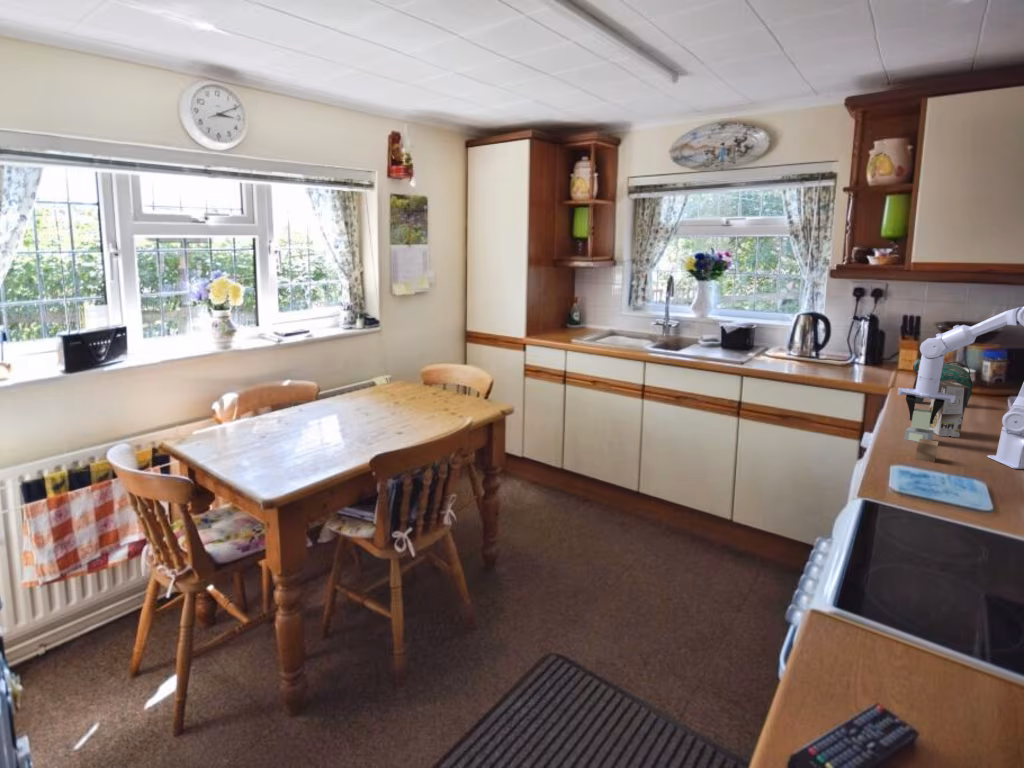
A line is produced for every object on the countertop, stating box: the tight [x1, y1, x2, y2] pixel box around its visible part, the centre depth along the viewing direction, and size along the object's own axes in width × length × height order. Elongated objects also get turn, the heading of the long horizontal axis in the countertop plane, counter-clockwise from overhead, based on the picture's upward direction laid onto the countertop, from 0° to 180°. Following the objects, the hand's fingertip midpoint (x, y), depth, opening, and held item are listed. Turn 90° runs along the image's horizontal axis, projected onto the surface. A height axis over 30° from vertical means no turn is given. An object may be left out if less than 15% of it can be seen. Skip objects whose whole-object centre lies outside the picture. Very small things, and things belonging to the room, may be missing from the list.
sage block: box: [910, 407, 932, 430], centre depth 193 cm, size 4×4×5 cm
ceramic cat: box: [912, 353, 974, 408], centre depth 237 cm, size 20×6×20 cm, turn 73°
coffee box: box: [929, 381, 969, 438], centre depth 202 cm, size 9×6×16 cm
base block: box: [903, 426, 934, 443], centre depth 195 cm, size 6×6×4 cm
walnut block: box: [915, 438, 939, 463], centre depth 178 cm, size 4×4×5 cm
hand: (921, 421), depth 193 cm, fingers closed on sage block, 4 cm apart
